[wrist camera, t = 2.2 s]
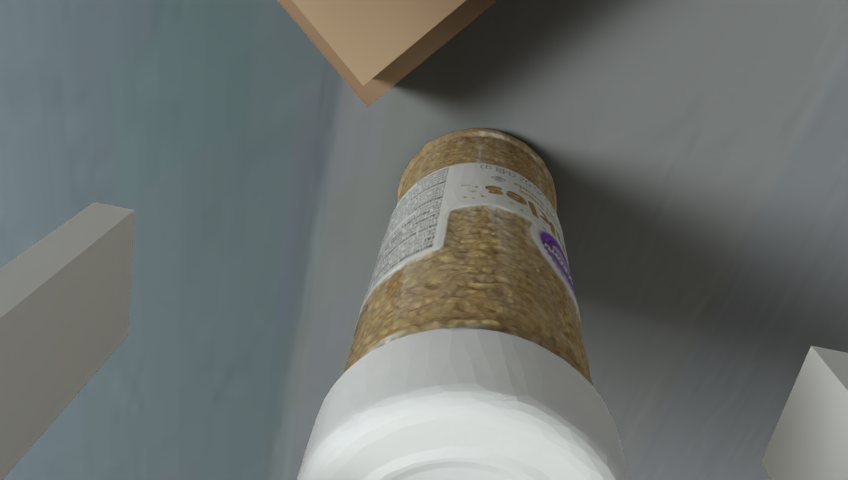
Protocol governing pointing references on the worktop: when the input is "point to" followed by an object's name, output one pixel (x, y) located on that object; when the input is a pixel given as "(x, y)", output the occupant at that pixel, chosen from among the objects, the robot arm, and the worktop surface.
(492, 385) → the sprinkles bottle
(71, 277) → the robot arm
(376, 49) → the pedestal
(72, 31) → the worktop surface
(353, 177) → the worktop surface
